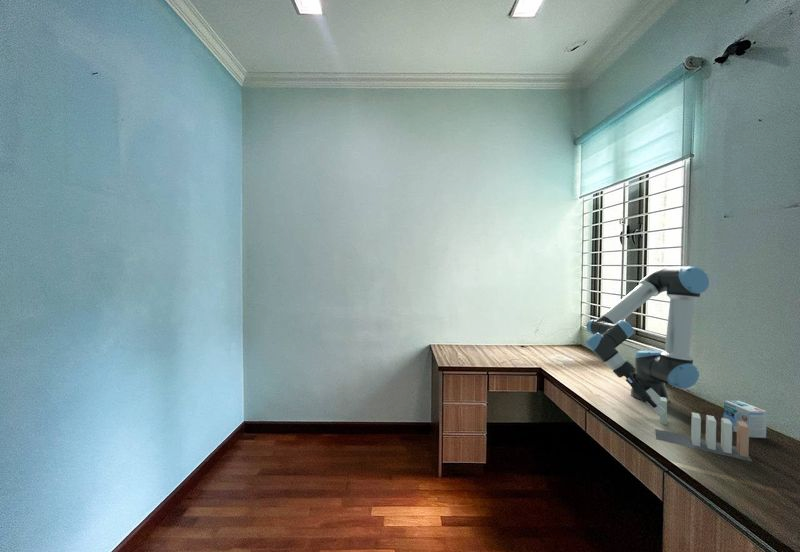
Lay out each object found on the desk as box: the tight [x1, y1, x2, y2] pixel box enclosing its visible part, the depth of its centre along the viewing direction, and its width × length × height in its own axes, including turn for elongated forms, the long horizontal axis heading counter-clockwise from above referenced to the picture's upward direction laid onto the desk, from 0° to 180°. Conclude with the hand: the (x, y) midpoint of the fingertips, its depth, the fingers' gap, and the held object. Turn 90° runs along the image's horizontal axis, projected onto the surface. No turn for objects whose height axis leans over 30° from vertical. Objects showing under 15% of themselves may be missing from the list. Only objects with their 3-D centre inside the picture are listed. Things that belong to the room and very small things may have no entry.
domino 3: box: [705, 414, 717, 450], centre depth 120 cm, size 5×2×10 cm, turn 145°
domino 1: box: [659, 397, 668, 425], centre depth 139 cm, size 5×2×10 cm, turn 145°
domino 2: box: [690, 411, 702, 446], centre depth 122 cm, size 5×2×10 cm, turn 145°
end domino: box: [736, 421, 750, 457], centre depth 115 cm, size 5×2×10 cm, turn 145°
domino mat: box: [654, 428, 753, 462], centre depth 121 cm, size 10×25×1 cm, turn 55°
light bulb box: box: [722, 400, 768, 439], centre depth 131 cm, size 11×7×11 cm, turn 178°
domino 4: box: [720, 417, 733, 454], centre depth 117 cm, size 5×2×10 cm, turn 145°
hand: (662, 408), depth 139 cm, fingers open, 13 cm apart
